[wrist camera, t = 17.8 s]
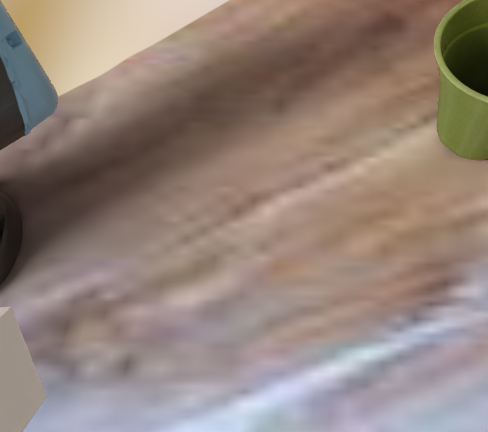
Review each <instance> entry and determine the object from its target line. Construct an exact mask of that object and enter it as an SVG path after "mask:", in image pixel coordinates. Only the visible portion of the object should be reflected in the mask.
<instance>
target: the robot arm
mask: <svg viewBox="0 0 488 432" xmlns="http://www.w3.org/2000/svg"><path fill="white" fill-rule="evenodd" d="M57 104H58V95H57V92H56V90H55V88H54V86H53V85H52V83H51V81H50V80H49V78H48V76H47V75H46V73H45V71H44V70H43V68H42V66H41V65H40V63H39V62H38V60H37V58H36V57H35V55H34V53H33V52H32V50H31V49H30V47H29V45H28V44H27V42H26V41H25V39H24V37H23V36H22V34H21V32H20V31H19V29H18V28H17V26H16V25H15V23H14V22H13V20H12V18H11V17H10V15H9V13H8V12H7V10H6V9H5V7H4V5H3V4H2V2H1V1H0V150H1V149H3V148H5V147H6V146H8V145H10V144H11V143H13V142H15V141H16V140H18V139H19V138H21V137H23V136H26V135H28V134H29V133H30V131H31V129H33V128H34V127H35V126H37V125H38V124H39V123H41V122H42V121H44V120H45V119H46V118H48V117H49V116H50V115H52V114H53V113H54V111H55V109H56V107H57ZM21 236H22V224H21V218H20V214H19V212H18V209H17V207H16V205H15V204H14V202H13V201H12V200H11V199H10V198H9V197H8V196H7V195H6V194H4V193H2V192H1V191H0V284H1V282H2V281H3V280H4V278H5V277H6V276H7V274H8V272H9V271H10V269H11V267H12V265H13V263H14V261H15V259H16V256H17V254H18V251H19V247H20V243H21ZM46 397H47V396H46V393H45V391H44V388H43V386H42V383H41V381H40V378H39V376H38V373H37V371H36V368H35V366H34V363H33V360H32V358H31V355H30V353H29V350H28V348H27V345H26V343H25V340H24V338H23V335H22V333H21V330H20V328H19V325H18V323H17V320H16V317H15V315H14V312H13V310H12V307H2V308H0V432H22V431H23V430H24V429H25V427H26V426H27V424H28V423H29V421H30V420H31V419H32V417H33V416H34V414H35V413H36V411H37V410H38V409H39V407H40V406H41V404H42V403H43V401H44V400H45V399H46Z"/></svg>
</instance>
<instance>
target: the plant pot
mask: <svg viewBox="0 0 488 432" xmlns="http://www.w3.org/2000/svg"><path fill="white" fill-rule="evenodd" d="M434 55H435V59H436V61H437V64H438V66H439V75H440V89H439V102H438V116H437V132H438V135H439V138H440V140H441V141H442V143H443V144H444V145H445V146H447V147H448V148H449V149H451V150H452V151H453V152H454V153H456V154H457V155H459V156H461V157H464V158H468V159H473V160H487V159H488V0H463V1H461V2H460V3H458V4H457V5H456V6H454V7H453V8H452V9H451V10H450V11H449V12H448V13H447V14H446V15H445V16H444V17H443V19H442V20H441V22H440V23H439V25H438V27H437V29H436V32H435V36H434Z"/></svg>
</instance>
